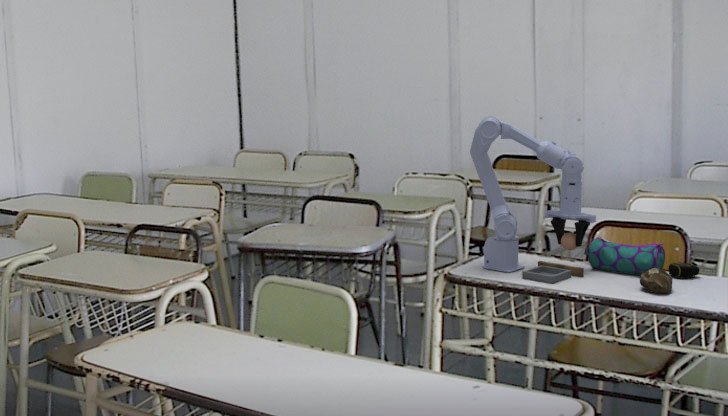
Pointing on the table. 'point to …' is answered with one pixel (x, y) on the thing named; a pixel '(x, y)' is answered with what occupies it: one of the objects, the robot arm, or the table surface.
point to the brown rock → (656, 281)
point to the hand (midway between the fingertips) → (569, 245)
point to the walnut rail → (574, 270)
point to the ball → (568, 241)
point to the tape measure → (683, 270)
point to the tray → (546, 274)
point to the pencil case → (625, 256)
